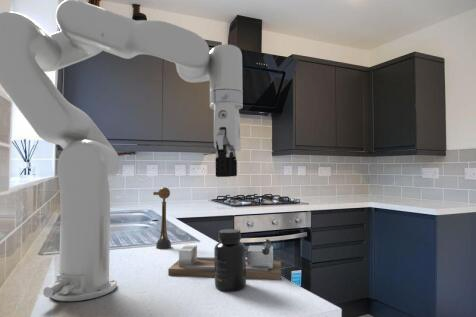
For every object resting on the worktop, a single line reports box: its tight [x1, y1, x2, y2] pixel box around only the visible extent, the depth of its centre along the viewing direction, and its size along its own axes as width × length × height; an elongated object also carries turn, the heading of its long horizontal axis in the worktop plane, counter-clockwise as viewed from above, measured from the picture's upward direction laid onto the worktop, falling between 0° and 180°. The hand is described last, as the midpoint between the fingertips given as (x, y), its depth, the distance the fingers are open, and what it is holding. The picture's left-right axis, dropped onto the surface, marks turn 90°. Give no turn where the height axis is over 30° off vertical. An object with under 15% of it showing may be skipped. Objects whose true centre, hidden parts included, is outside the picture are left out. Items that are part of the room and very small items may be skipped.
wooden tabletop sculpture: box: [153, 186, 172, 250], centre depth 107 cm, size 6×5×20 cm
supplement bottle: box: [213, 228, 247, 293], centre depth 70 cm, size 7×7×12 cm
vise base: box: [167, 244, 282, 280], centre depth 81 cm, size 10×27×6 cm, turn 83°
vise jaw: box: [246, 239, 274, 269], centre depth 80 cm, size 11×6×5 cm, turn 173°
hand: (227, 176), depth 72 cm, fingers open, 9 cm apart
